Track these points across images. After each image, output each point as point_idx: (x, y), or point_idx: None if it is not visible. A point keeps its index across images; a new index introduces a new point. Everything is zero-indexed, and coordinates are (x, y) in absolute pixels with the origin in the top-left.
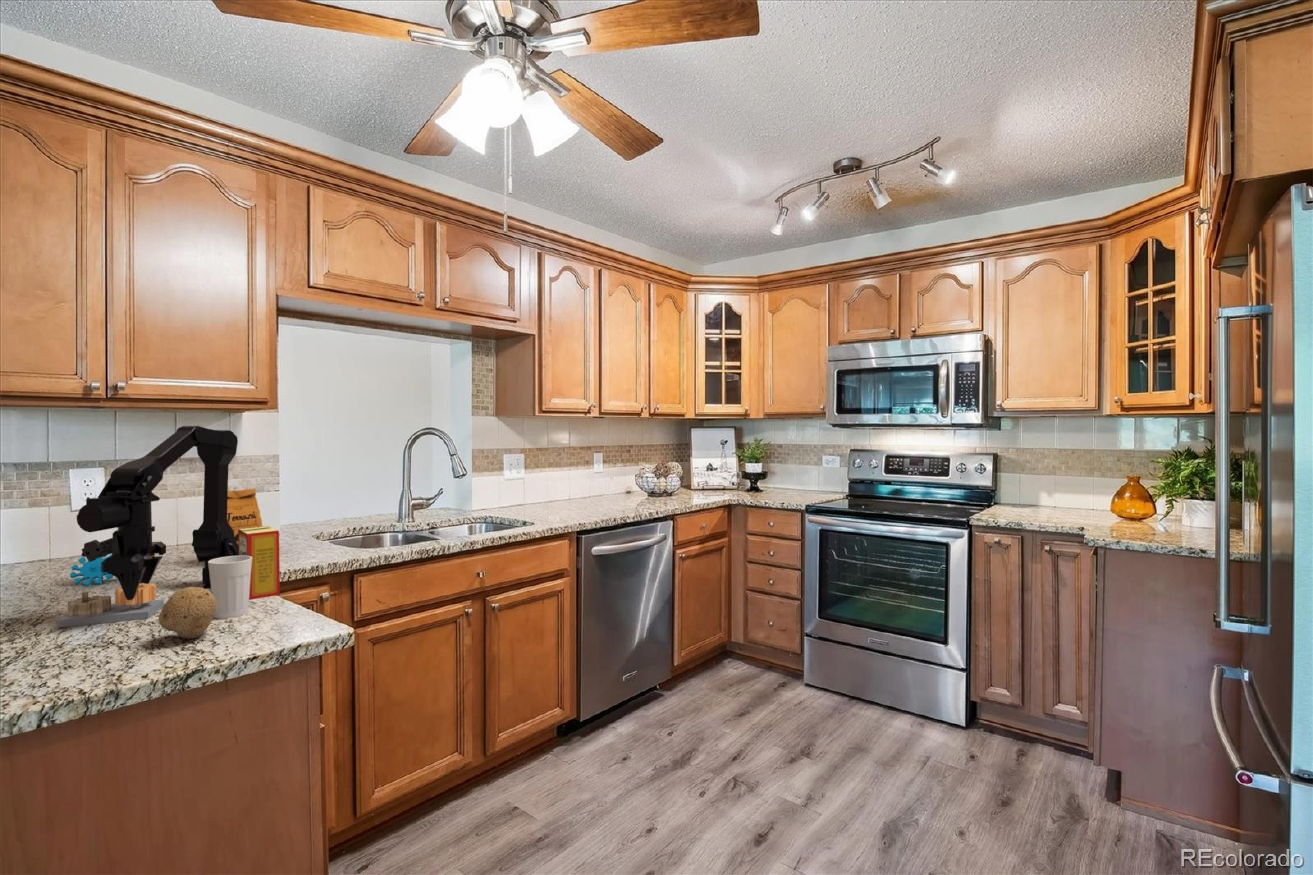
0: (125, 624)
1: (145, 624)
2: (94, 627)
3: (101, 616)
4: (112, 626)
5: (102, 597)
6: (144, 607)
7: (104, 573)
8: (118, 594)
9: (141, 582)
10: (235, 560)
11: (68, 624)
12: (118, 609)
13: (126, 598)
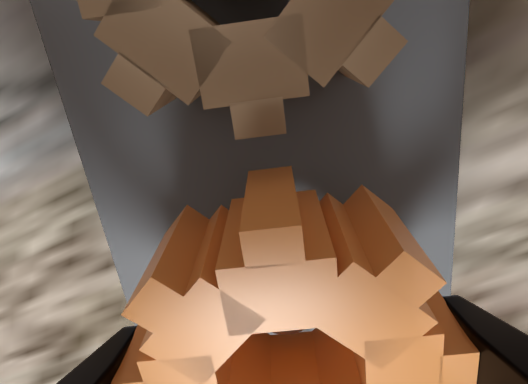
0: (64, 273)
1: (57, 359)
2: (13, 131)
3: (78, 141)
4: (30, 225)
5: (310, 37)
6: None
7: None
8: (139, 285)
9: (486, 380)
10: None
11: None
12: (245, 176)
13: (112, 336)
